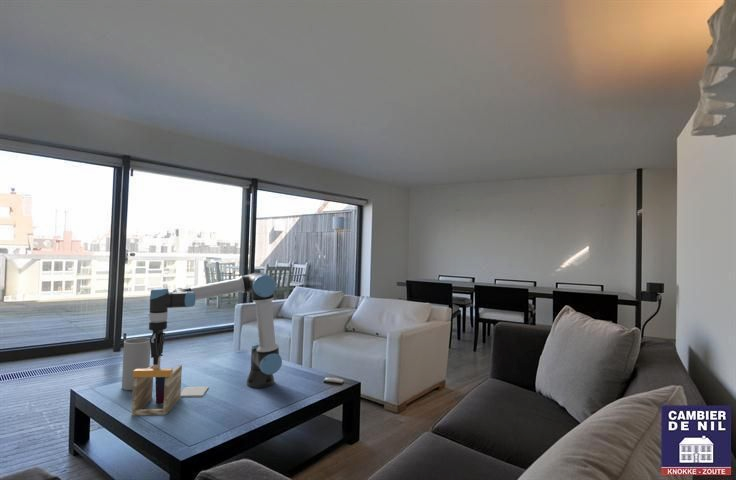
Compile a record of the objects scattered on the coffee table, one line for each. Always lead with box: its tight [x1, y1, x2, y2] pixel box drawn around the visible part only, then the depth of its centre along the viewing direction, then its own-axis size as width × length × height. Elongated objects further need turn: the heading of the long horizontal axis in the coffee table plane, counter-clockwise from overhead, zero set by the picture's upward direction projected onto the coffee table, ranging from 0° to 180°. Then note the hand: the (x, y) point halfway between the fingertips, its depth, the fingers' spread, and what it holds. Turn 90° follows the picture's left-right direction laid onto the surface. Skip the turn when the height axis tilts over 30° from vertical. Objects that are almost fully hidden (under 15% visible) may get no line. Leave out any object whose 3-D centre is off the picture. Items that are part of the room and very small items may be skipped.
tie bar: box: [133, 367, 174, 378], centre depth 177 cm, size 16×3×3 cm, turn 99°
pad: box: [180, 386, 209, 398], centre depth 202 cm, size 12×12×1 cm
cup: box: [154, 377, 166, 404], centre depth 189 cm, size 7×7×15 cm
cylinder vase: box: [121, 337, 151, 391], centre depth 207 cm, size 12×12×25 cm
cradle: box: [131, 364, 183, 416], centre depth 184 cm, size 15×19×17 cm
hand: (156, 370), depth 180 cm, fingers closed
